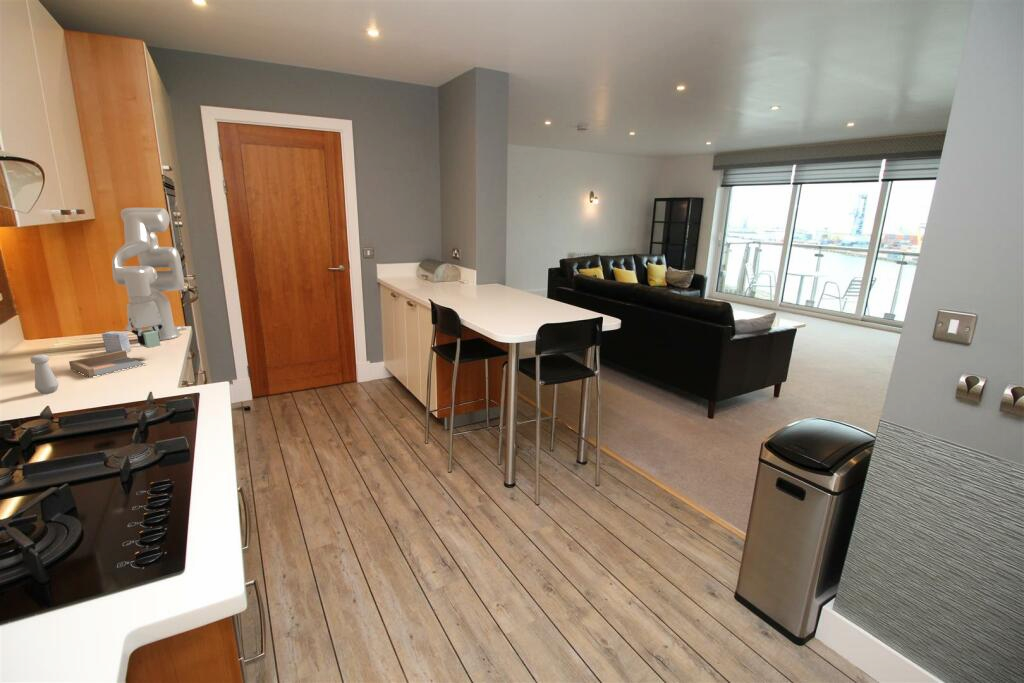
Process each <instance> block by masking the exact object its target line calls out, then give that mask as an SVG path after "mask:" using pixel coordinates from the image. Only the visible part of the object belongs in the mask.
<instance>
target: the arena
mask: <svg viewBox="0 0 1024 683" xmlns="http://www.w3.org/2000/svg"><path fill="white" fill-rule="evenodd" d="M68 364H69V367H70V368H69V369H70V370H71V369H73V370H75V371H77V372H76V373H78V372H80V373H82V374H84V375H86V376H88V377H87V378H89V377H92V378H94V377H93V376H97V375H101V376H103V375H102V374H105V375H107V374H106V373H110V372H114V371H118V370H122V369H127V368H130V367H135V366H139V365H143V364H146V365H147V363H145V362H142V361H140V360H137V359H135V358H131V357H129V356H128V352H126V351H125V350H123V351H118V352H113V353H105V354H104V353H103V354H98V355H94V356H90V357H84V358H79V359H74V360H70V361H68ZM135 368H136V367H135ZM73 370H72V371H73ZM127 370H128V369H127ZM75 371H74V372H75ZM118 372H119V371H118ZM80 373H79V374H80ZM114 373H115V372H114ZM82 374H81V375H82ZM110 374H111V373H110ZM84 375H83V376H84ZM86 376H85V377H86ZM97 377H98V376H97Z"/></svg>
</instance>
